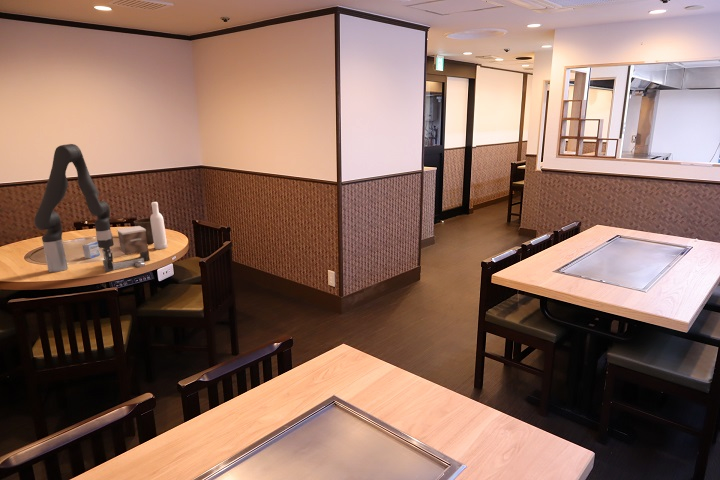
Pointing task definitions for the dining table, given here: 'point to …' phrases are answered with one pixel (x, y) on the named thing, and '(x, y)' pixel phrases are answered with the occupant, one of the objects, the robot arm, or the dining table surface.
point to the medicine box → (91, 250)
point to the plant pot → (146, 225)
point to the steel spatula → (121, 264)
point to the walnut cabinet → (134, 241)
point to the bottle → (158, 228)
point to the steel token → (139, 264)
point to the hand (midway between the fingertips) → (110, 268)
